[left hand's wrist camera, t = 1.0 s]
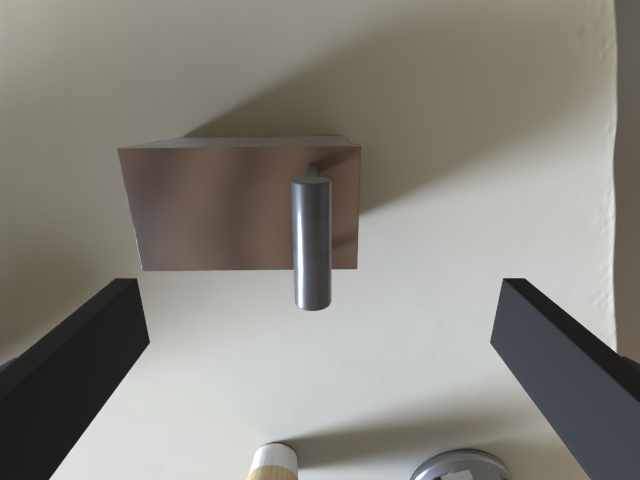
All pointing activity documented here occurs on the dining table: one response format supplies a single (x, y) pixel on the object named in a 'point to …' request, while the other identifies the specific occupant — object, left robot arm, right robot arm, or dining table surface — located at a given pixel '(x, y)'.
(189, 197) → the panel with cylinder handle
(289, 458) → the coffee cup
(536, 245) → the dining table surface
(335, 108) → the dining table surface
